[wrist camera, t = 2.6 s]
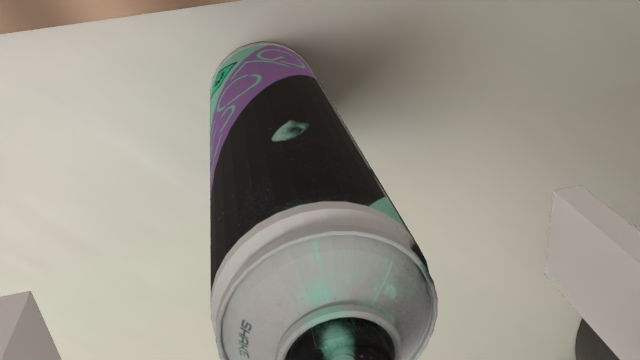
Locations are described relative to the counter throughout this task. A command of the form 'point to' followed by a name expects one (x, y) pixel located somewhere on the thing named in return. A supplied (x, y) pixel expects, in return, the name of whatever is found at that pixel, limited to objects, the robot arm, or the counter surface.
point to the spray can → (304, 226)
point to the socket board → (80, 11)
